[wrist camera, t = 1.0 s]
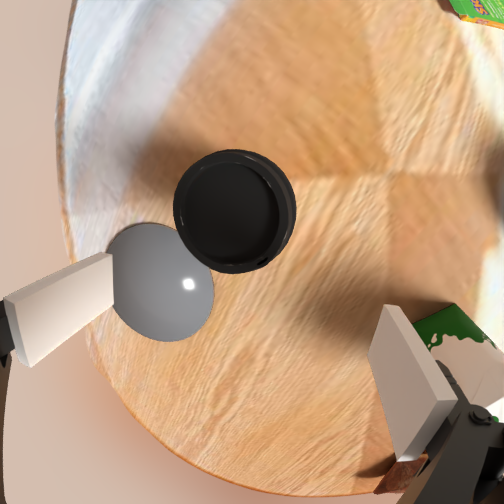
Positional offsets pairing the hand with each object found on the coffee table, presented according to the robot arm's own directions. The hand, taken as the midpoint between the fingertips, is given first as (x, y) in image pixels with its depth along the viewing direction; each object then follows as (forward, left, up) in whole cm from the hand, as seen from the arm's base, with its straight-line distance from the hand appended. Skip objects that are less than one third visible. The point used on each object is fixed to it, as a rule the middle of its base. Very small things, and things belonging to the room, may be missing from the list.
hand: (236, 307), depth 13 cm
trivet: (+6, -15, -21) cm, 27 cm away
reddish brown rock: (+43, +24, -21) cm, 54 cm away
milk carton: (+14, +22, -21) cm, 33 cm away
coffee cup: (-4, -1, -21) cm, 21 cm away
